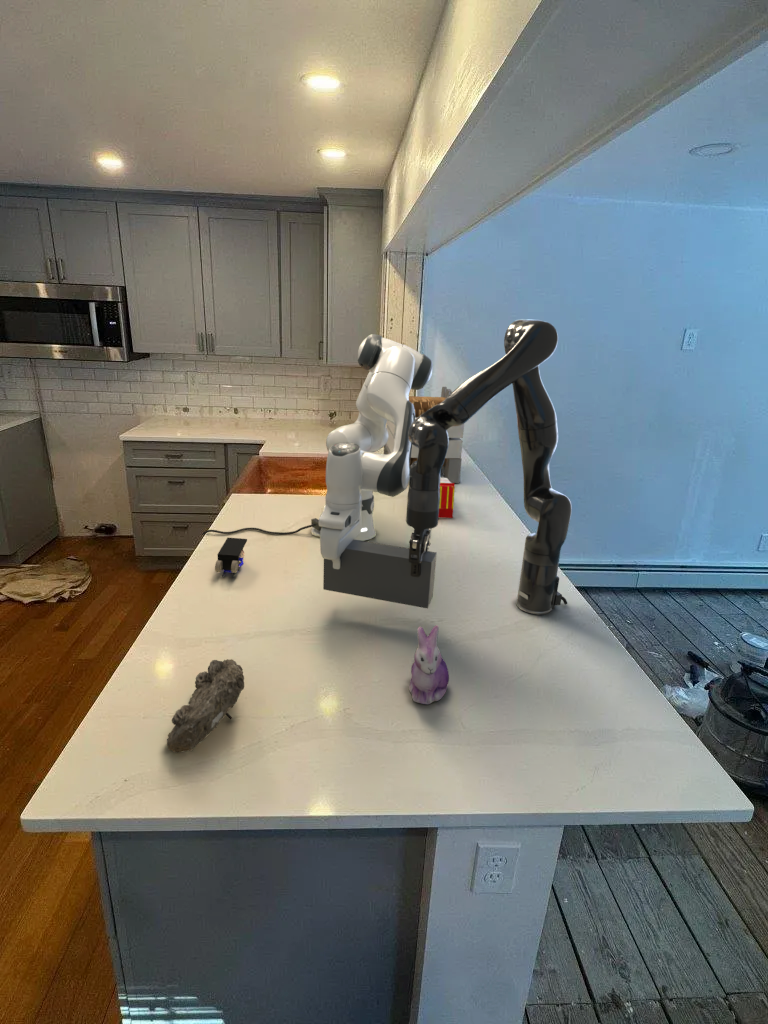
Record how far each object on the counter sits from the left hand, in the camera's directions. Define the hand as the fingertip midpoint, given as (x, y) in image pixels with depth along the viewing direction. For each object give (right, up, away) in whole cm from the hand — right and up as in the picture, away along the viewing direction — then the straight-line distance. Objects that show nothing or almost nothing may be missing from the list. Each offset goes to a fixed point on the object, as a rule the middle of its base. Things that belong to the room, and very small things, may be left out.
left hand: (342, 561), depth 143 cm
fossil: (-22, -27, -35) cm, 49 cm away
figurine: (+20, -25, -25) cm, 40 cm away
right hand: (+19, -2, -5) cm, 20 cm away
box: (+9, -8, 0) cm, 12 cm away
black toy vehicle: (-34, -5, +25) cm, 43 cm away
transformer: (+28, +31, +132) cm, 139 cm away
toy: (+32, +15, +87) cm, 93 cm away
